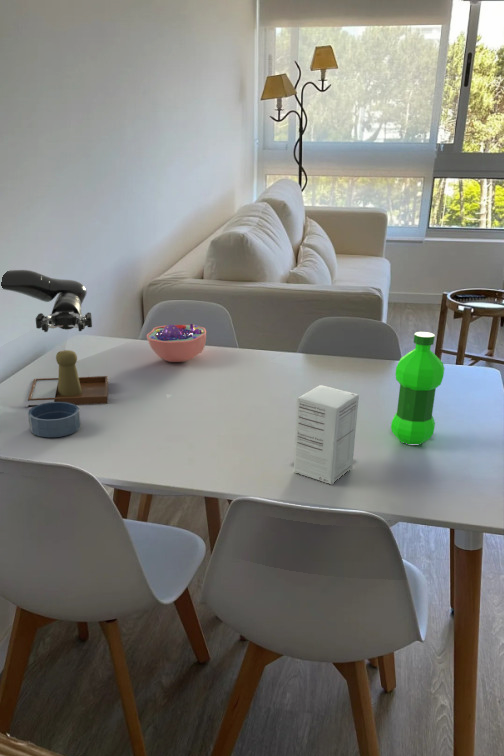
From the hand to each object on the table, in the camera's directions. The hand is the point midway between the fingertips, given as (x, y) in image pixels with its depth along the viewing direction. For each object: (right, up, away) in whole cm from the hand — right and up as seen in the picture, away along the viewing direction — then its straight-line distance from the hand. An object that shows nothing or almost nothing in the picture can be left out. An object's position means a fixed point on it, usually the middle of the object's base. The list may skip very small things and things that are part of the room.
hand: (62, 327), depth 180 cm
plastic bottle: (+85, -29, -19) cm, 92 cm away
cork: (+1, -16, +3) cm, 17 cm away
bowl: (+3, -26, -17) cm, 31 cm away
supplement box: (+63, -36, -34) cm, 80 cm away
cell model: (+26, -4, +31) cm, 41 cm away
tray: (+1, -17, +3) cm, 17 cm away
